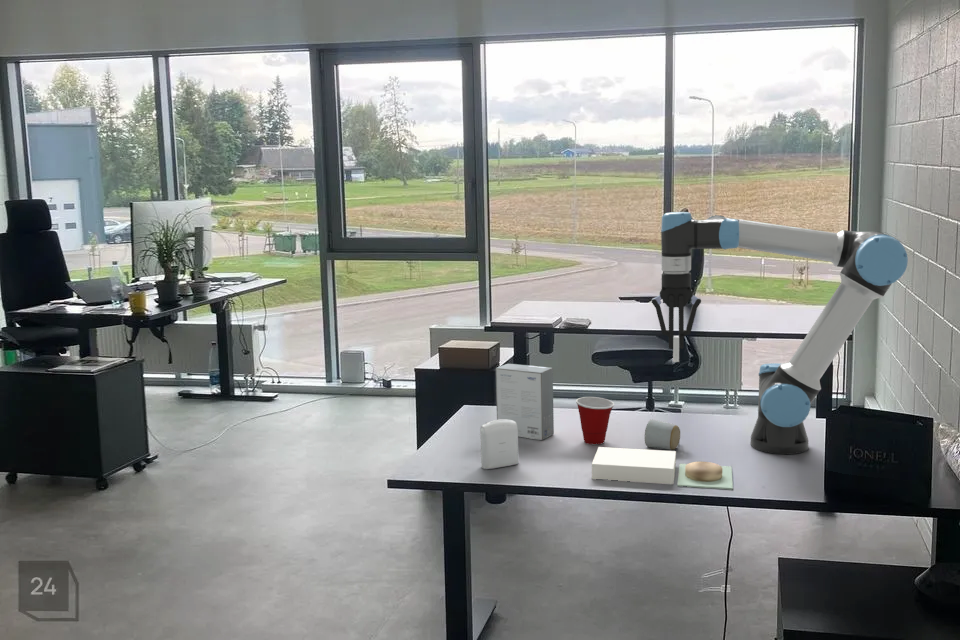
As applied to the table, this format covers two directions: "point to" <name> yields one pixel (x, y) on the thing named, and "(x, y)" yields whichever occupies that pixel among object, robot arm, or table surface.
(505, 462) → the photo printer
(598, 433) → the plastic cup
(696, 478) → the cork coaster
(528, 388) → the hard drive box
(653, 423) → the ceramic mug
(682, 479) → the sage mat
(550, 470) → the table surface
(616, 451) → the block
